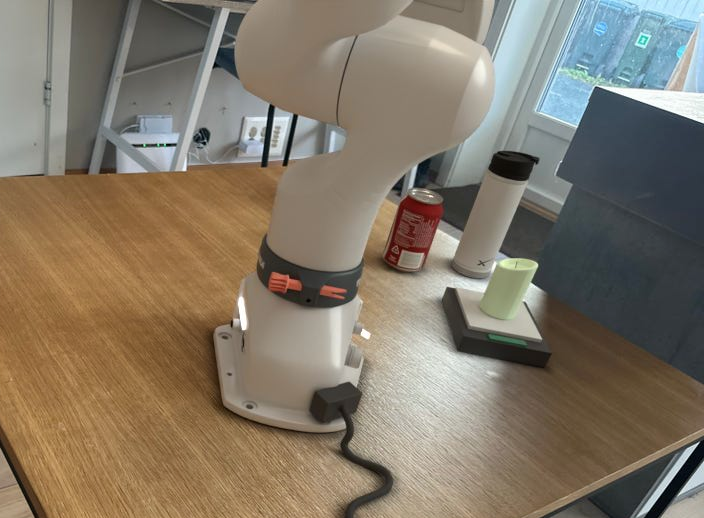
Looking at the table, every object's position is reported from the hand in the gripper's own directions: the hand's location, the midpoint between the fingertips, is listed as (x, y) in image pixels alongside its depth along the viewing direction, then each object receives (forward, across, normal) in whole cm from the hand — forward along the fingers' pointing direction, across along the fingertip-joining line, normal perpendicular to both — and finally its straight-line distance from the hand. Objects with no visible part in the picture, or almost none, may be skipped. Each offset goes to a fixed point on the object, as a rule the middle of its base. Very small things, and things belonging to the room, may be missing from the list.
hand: (395, 68), depth 96 cm
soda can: (+29, +8, +7) cm, 31 cm away
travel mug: (+29, +16, +15) cm, 37 cm away
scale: (+29, +26, -3) cm, 39 cm away
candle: (+26, +25, -2) cm, 36 cm away
